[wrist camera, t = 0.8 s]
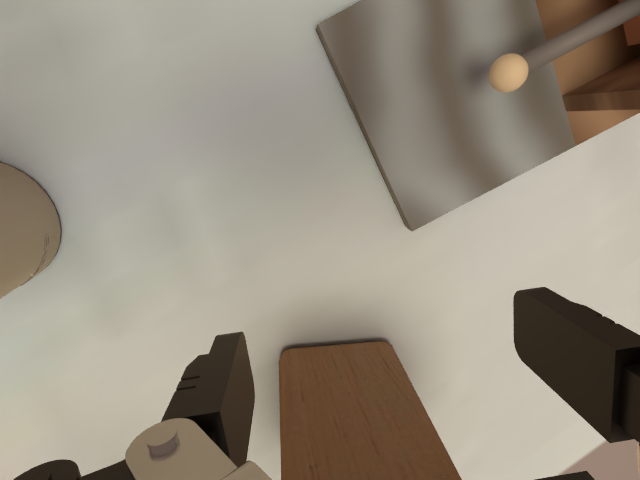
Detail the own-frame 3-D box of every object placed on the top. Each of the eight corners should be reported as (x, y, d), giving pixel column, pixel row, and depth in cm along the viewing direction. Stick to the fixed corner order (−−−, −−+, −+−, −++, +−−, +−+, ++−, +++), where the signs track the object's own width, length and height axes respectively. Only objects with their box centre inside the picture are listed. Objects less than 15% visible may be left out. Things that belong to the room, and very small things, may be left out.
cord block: (690, -87, 26) (785, -134, 21) (704, 5, 28) (794, -19, 23) (447, 45, 27) (485, 28, 22) (476, 126, 29) (517, 127, 24)
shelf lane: (669, -166, 26) (862, -304, 18) (706, 69, 31) (870, 50, 23) (315, 29, 27) (334, -13, 19) (405, 226, 32) (453, 265, 24)
